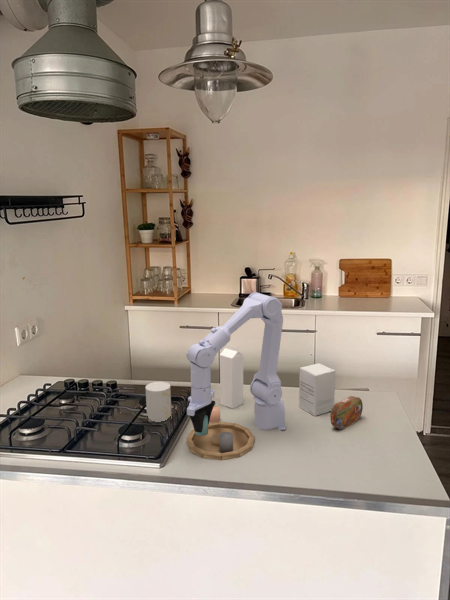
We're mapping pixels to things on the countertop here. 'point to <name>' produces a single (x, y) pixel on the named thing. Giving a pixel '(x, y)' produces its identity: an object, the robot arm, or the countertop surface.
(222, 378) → the milk
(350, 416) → the tin
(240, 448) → the tray
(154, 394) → the white cylinder
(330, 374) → the supplement box
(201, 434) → the bead teal
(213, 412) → the bead terracotta
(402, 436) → the countertop surface
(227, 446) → the bead charcoal
